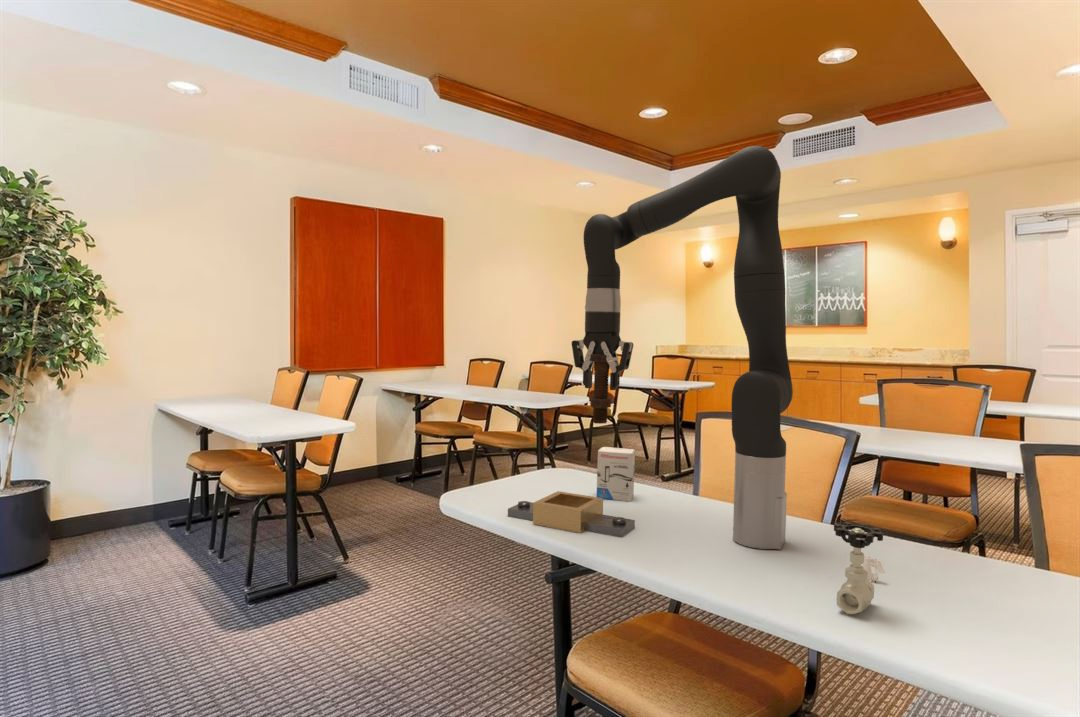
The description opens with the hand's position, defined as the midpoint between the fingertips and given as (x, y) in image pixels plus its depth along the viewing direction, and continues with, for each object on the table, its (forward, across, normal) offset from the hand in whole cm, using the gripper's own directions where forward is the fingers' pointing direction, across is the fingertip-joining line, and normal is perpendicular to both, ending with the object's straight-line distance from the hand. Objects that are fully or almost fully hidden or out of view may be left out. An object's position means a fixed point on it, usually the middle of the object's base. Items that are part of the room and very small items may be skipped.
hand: (600, 388), depth 135 cm
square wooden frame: (+28, +3, +7) cm, 29 cm away
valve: (+27, -52, +21) cm, 62 cm away
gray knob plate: (+28, -6, +7) cm, 29 cm away
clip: (+27, -53, +8) cm, 60 cm away
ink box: (+28, +3, -16) cm, 33 cm away
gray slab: (+28, +12, +7) cm, 32 cm away
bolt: (+8, 0, 0) cm, 8 cm away
